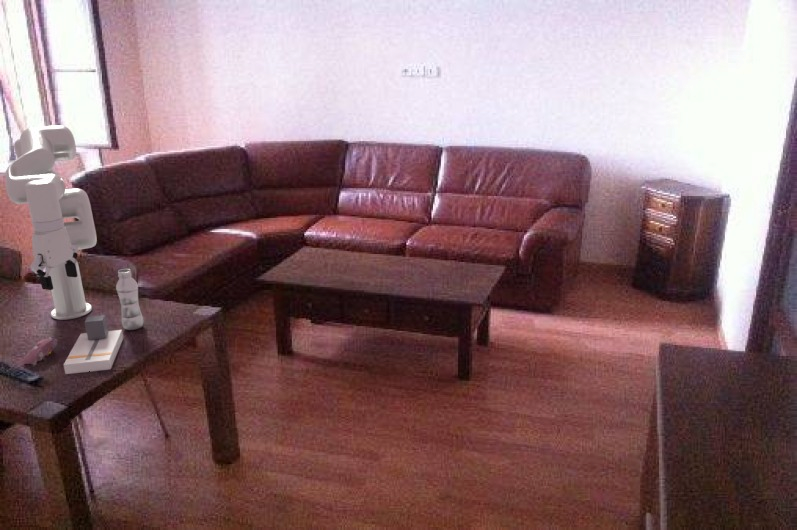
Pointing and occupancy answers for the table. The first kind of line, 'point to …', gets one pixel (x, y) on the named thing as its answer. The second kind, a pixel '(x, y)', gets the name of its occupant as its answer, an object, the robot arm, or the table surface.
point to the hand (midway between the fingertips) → (60, 282)
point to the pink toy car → (41, 350)
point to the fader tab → (96, 327)
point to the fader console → (93, 353)
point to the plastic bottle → (129, 300)
